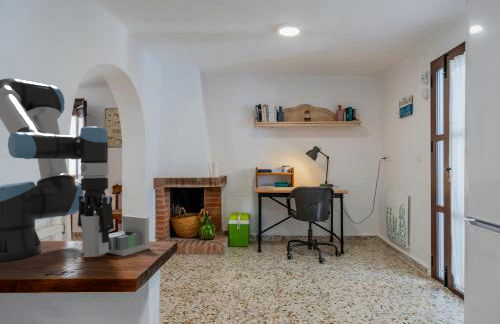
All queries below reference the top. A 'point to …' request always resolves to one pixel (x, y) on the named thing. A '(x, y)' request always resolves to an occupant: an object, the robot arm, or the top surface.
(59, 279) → the top surface
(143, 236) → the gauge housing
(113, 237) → the grey rectangular slab
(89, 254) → the cup
